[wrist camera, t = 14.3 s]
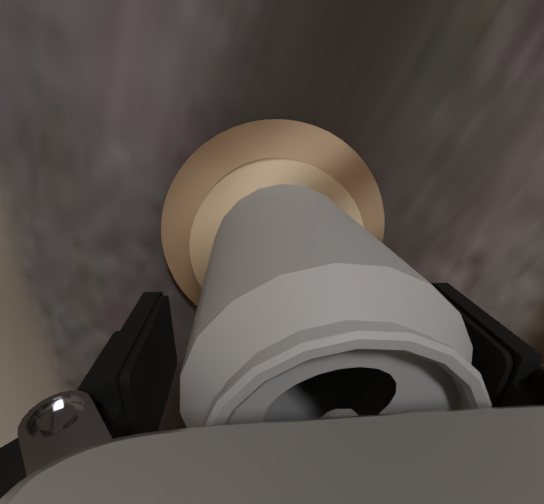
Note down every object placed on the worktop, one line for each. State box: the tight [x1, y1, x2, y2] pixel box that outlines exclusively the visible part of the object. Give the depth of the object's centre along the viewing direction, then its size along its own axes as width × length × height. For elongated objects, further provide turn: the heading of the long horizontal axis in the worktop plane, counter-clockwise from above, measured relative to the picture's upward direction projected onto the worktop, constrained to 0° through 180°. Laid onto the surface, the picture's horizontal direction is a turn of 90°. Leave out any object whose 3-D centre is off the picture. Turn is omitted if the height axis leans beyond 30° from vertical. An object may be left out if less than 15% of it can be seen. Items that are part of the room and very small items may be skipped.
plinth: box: [161, 119, 384, 306], centre depth 19 cm, size 14×14×3 cm
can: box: [180, 184, 492, 428], centre depth 12 cm, size 8×8×12 cm
